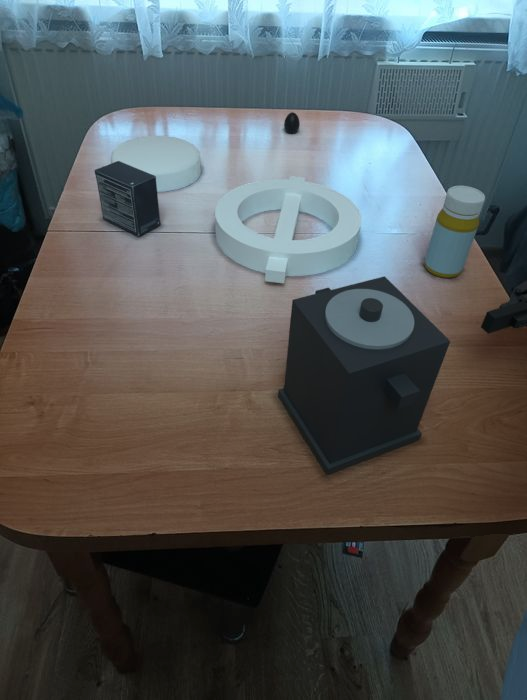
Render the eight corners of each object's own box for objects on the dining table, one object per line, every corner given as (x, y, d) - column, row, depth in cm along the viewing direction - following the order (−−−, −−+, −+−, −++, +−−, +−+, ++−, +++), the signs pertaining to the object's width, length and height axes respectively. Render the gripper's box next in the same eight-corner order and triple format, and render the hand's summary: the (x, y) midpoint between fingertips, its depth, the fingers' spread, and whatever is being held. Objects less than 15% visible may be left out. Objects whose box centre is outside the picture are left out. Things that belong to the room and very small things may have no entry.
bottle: (415, 266, 100) (436, 192, 90) (437, 253, 104) (460, 180, 93) (447, 284, 97) (472, 208, 86) (468, 270, 100) (496, 196, 90)
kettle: (436, 450, 70) (486, 338, 56) (335, 490, 65) (363, 378, 51) (357, 353, 83) (381, 242, 69) (268, 380, 78) (275, 267, 64)
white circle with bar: (297, 188, 121) (298, 168, 118) (387, 246, 105) (392, 224, 102) (188, 223, 108) (187, 201, 105) (272, 294, 92) (274, 271, 89)
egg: (297, 135, 143) (299, 116, 139) (282, 133, 143) (283, 114, 140) (299, 129, 146) (301, 110, 142) (284, 128, 146) (286, 109, 143)
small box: (163, 224, 107) (158, 174, 100) (139, 238, 104) (132, 187, 96) (126, 207, 112) (118, 158, 105) (101, 219, 108) (92, 169, 101)
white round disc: (124, 150, 131) (121, 131, 128) (205, 155, 131) (205, 136, 128) (103, 189, 117) (99, 169, 114) (195, 194, 117) (194, 174, 114)
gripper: (636, 330, 78) (512, 374, 71) (566, 280, 87) (449, 315, 79) (664, 289, 73) (534, 332, 65) (587, 240, 81) (464, 273, 74)
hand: (487, 322), depth 72 cm, fingers closed
